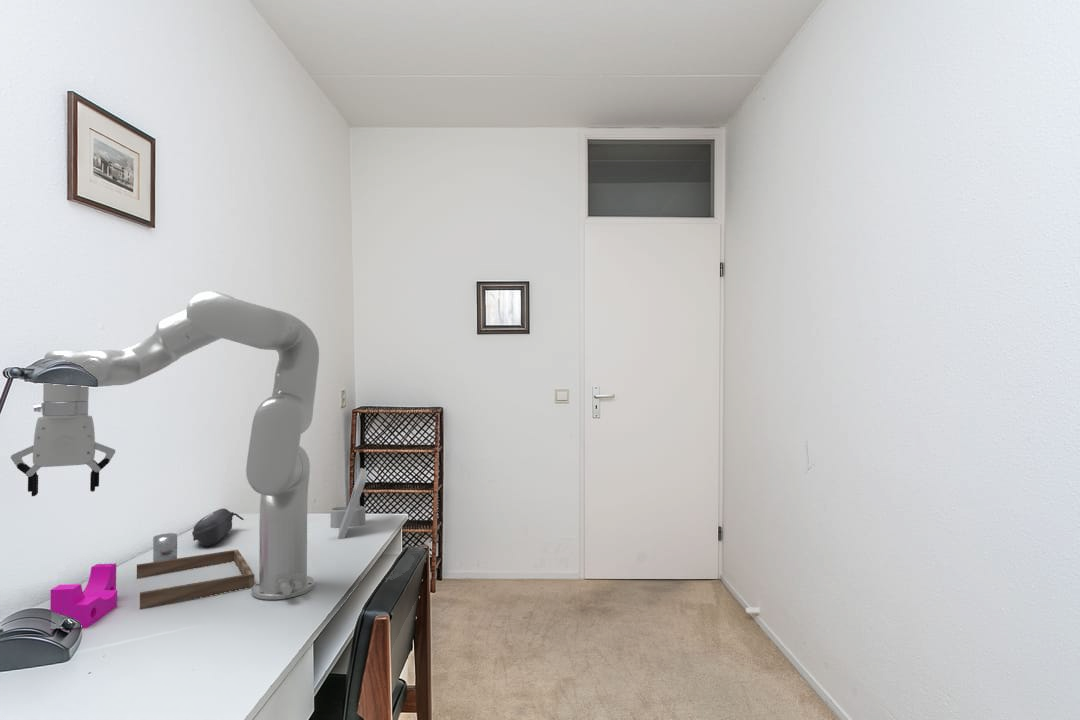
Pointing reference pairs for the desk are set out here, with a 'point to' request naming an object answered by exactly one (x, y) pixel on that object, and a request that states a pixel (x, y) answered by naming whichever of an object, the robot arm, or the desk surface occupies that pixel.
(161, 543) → the metal peg
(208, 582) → the bay
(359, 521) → the phone holder
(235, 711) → the desk surface
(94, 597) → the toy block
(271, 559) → the robot arm
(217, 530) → the glasses case
